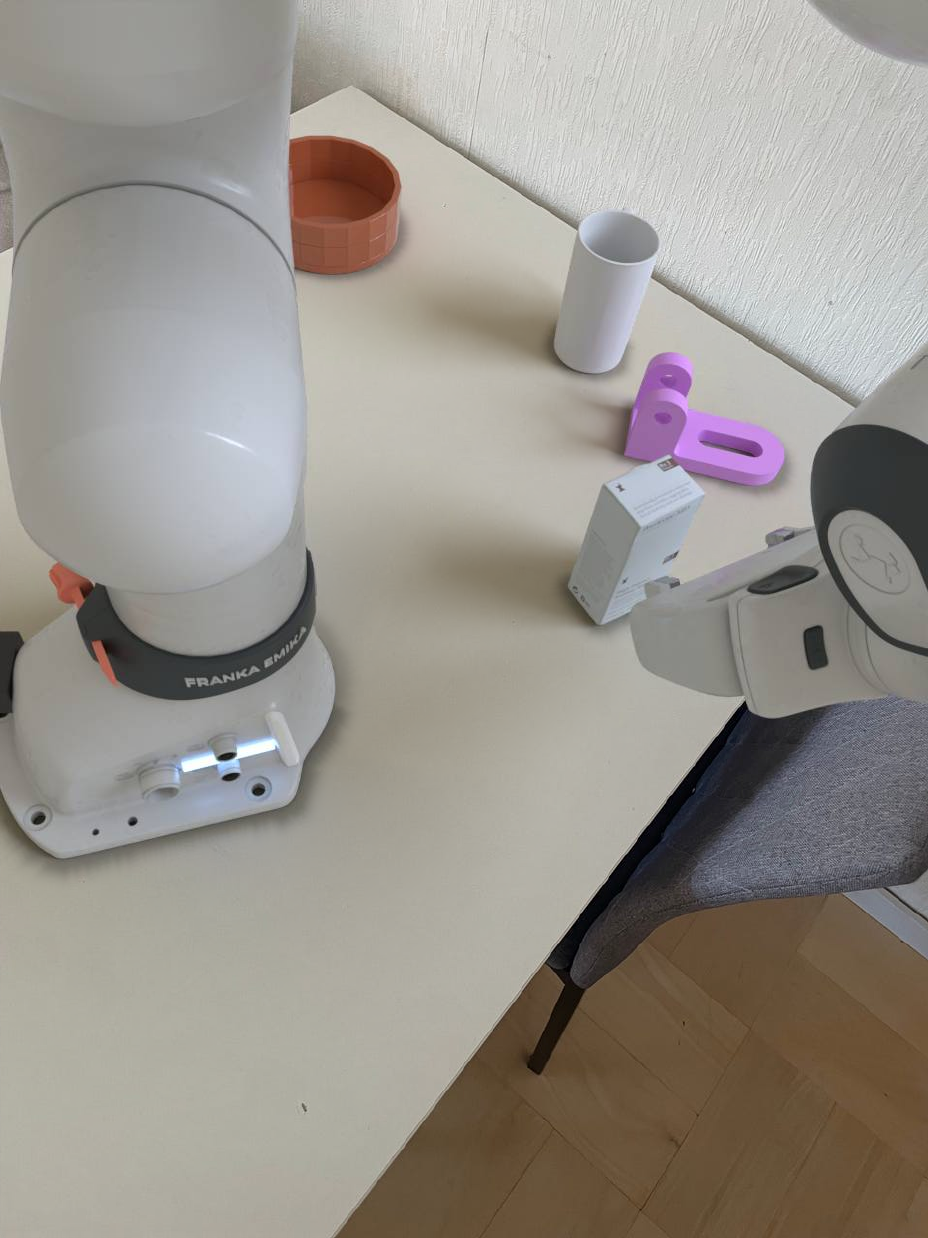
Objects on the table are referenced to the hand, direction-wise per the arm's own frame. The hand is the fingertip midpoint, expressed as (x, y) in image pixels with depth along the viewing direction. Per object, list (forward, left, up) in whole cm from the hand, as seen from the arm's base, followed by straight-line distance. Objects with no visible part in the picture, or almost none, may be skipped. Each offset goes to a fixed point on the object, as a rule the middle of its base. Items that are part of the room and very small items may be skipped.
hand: (716, 566), depth 64 cm
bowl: (-3, +53, -12) cm, 54 cm away
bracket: (+15, +16, -13) cm, 25 cm away
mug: (+13, +31, -13) cm, 36 cm away
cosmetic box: (0, +7, -13) cm, 14 cm away
